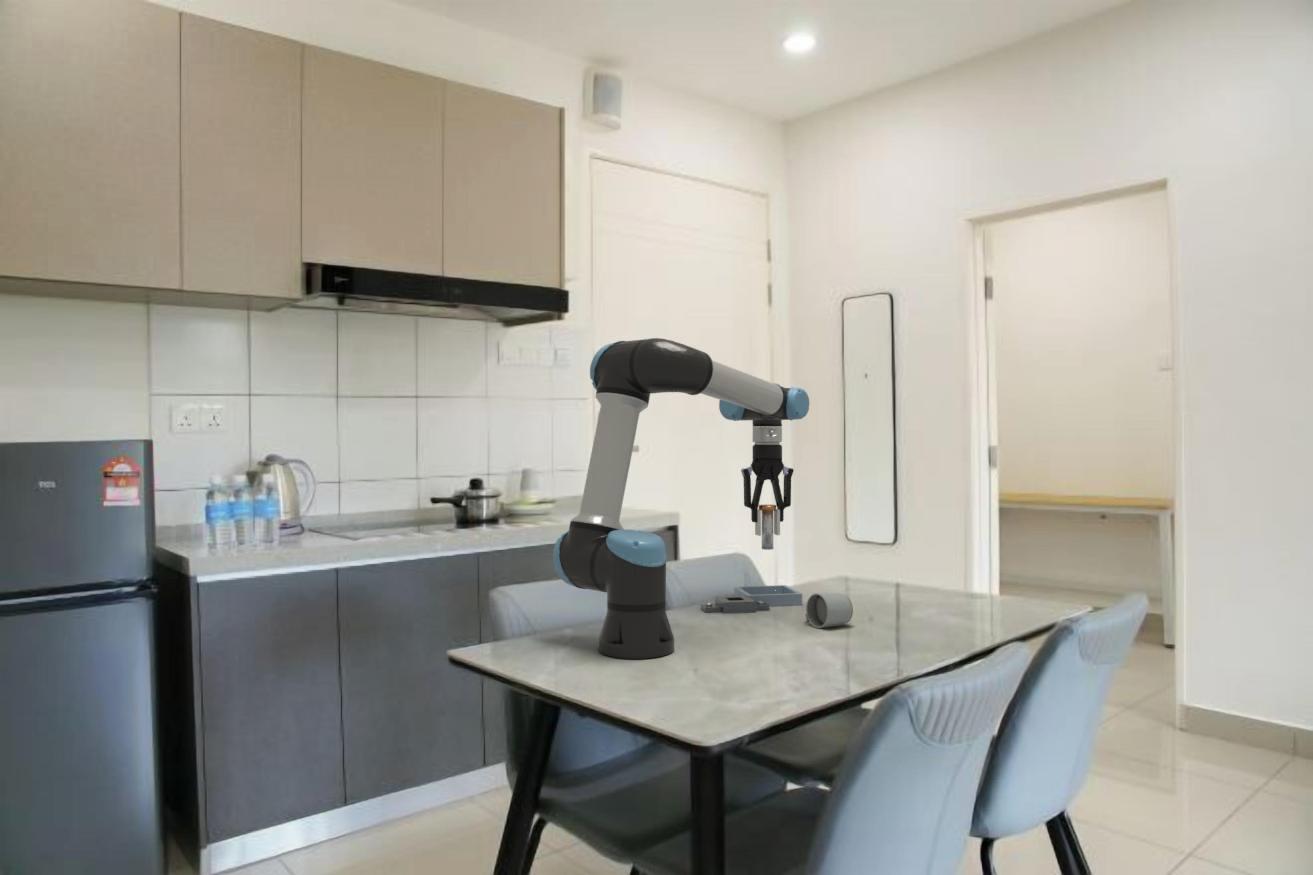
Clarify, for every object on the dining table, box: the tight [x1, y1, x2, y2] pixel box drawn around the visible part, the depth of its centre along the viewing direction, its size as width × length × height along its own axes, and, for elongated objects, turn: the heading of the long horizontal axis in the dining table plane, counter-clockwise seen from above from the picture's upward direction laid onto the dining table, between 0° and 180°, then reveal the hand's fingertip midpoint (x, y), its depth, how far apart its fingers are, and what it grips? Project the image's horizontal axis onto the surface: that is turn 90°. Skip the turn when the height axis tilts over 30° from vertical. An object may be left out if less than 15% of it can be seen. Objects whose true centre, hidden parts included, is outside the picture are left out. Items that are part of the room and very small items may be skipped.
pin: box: [758, 504, 777, 551], centre depth 232 cm, size 4×4×11 cm
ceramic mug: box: [805, 592, 854, 629], centre depth 204 cm, size 11×8×8 cm
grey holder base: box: [700, 595, 771, 614], centre depth 221 cm, size 16×8×3 cm, turn 100°
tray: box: [733, 584, 803, 607], centre depth 232 cm, size 14×13×3 cm
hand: (767, 534), depth 232 cm, fingers closed on pin, 4 cm apart
